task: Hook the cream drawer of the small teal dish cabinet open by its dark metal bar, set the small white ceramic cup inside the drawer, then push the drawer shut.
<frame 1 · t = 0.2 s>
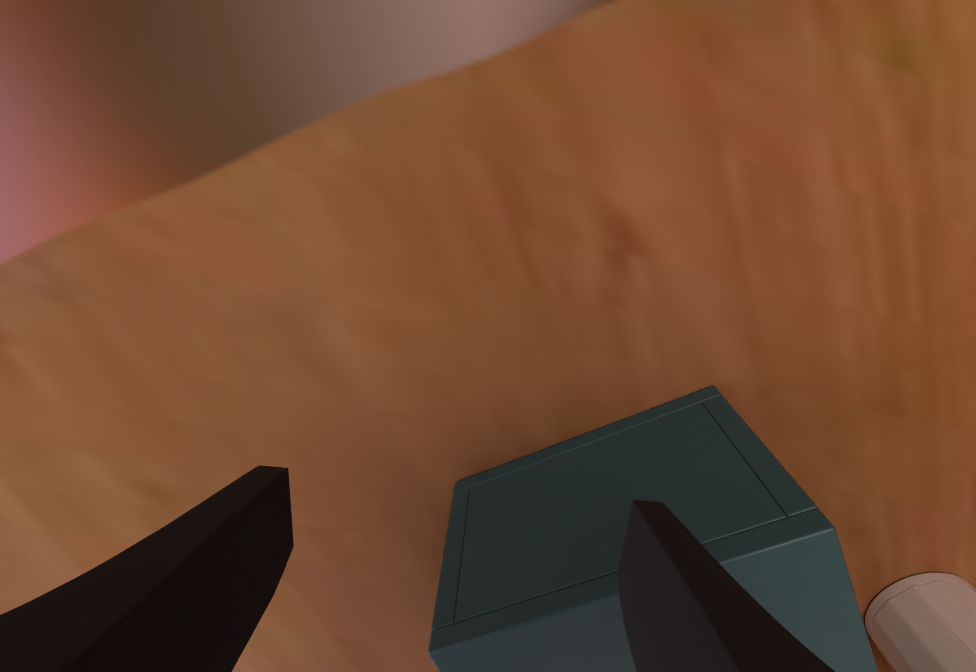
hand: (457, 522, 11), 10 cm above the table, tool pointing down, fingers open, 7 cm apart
cup: (921, 613, 24), on the table
cabinet: (632, 552, 23), on the table
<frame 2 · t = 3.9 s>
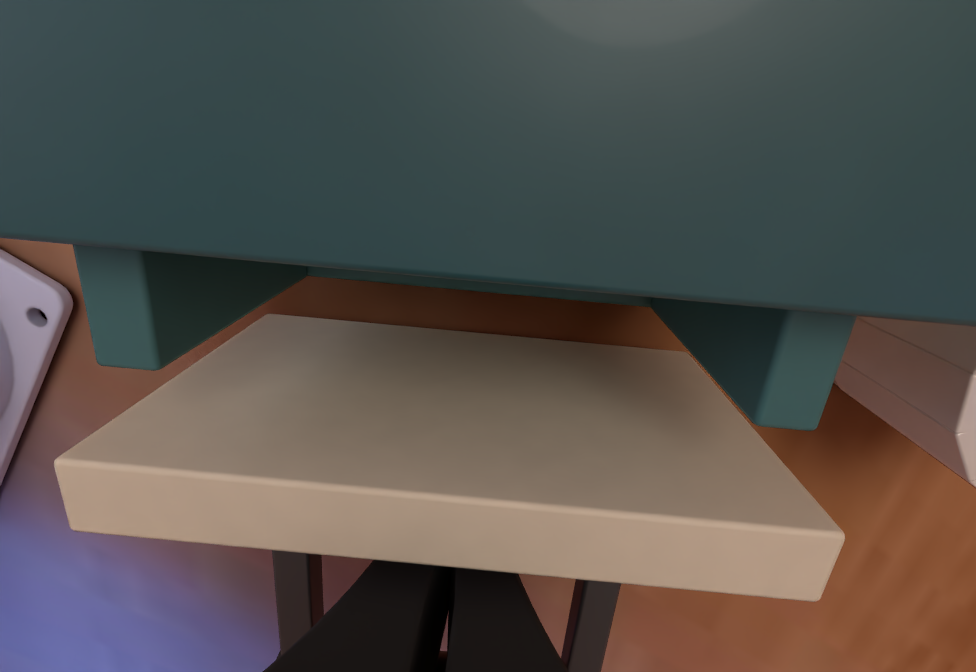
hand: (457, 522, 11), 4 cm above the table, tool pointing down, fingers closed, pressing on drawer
cup: (920, 316, 13), on the table
drawer: (476, 251, 9), point 4 cm above the table, slide at 3.1 cm, touching gripper
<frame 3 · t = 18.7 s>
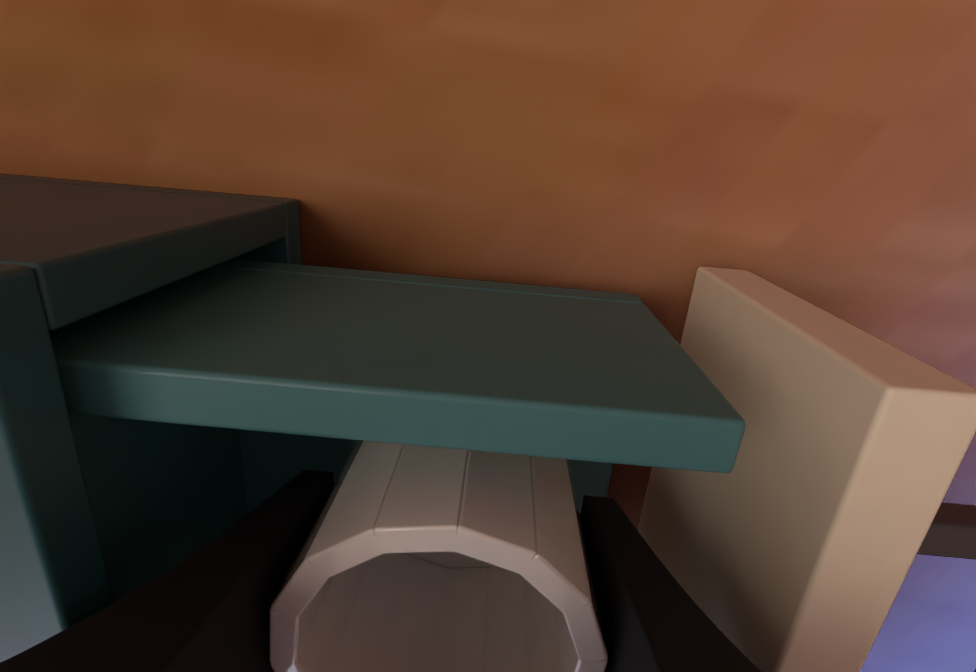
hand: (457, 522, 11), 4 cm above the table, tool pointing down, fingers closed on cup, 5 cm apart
cup: (461, 480, 12), point 3 cm above the table, touching gripper
drawer: (568, 533, 11), point 4 cm above the table, slide at 9.5 cm
cabinet: (73, 387, 14), on the table
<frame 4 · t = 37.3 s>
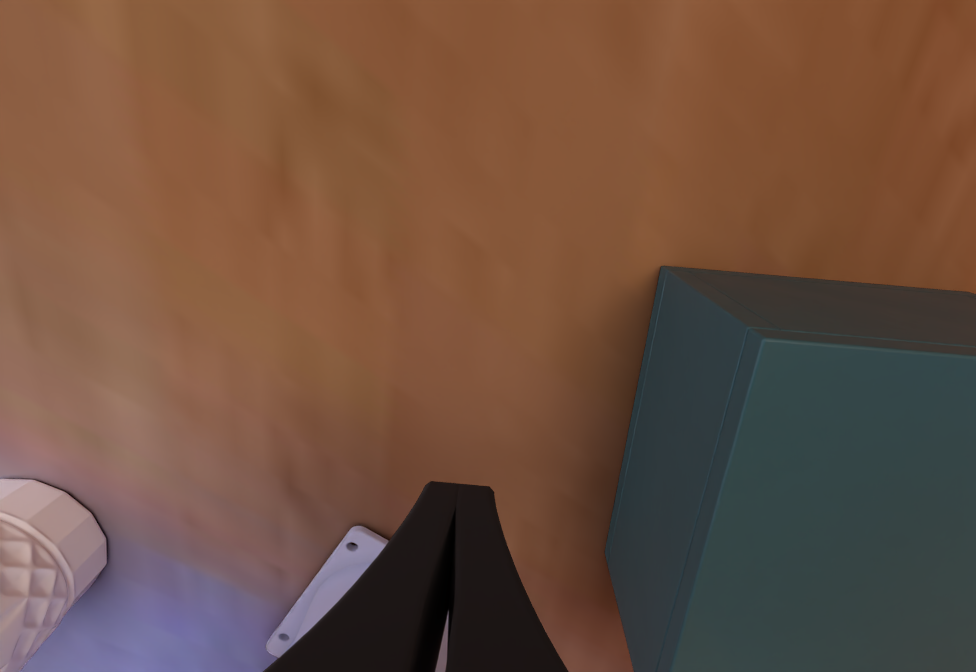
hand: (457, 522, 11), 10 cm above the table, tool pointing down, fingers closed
white cup: (44, 532, 25), on the table
cabinet: (766, 436, 21), on the table
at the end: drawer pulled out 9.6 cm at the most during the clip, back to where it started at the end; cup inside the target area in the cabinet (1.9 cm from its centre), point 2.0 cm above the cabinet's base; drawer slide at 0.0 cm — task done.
